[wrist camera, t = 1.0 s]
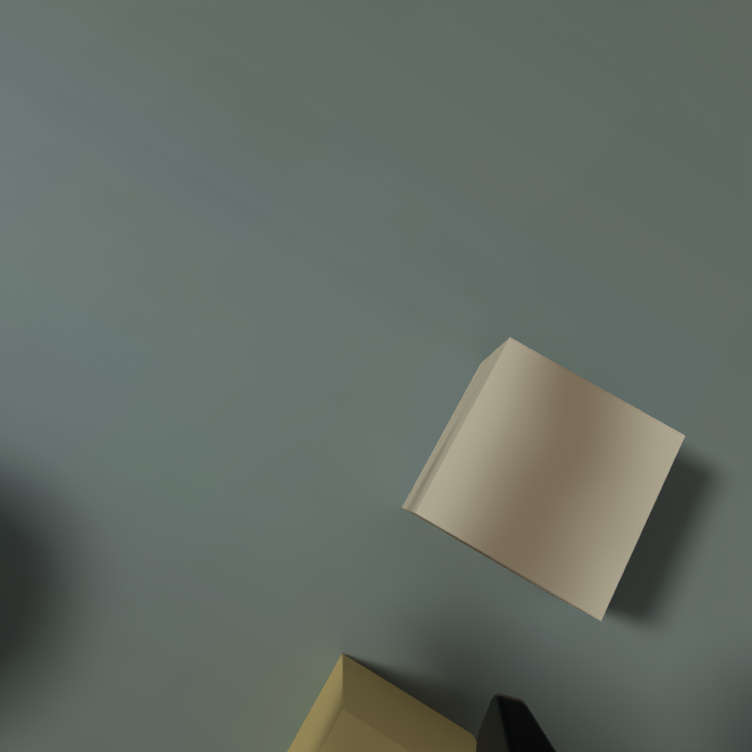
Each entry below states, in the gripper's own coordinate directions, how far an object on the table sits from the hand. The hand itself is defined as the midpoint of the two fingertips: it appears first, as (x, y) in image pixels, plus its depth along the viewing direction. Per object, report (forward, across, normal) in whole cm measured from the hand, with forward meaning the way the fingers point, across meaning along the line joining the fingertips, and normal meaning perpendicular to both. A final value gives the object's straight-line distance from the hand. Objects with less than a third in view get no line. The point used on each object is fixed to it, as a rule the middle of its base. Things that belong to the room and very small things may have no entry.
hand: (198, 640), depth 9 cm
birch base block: (+12, -7, +2) cm, 14 cm away
